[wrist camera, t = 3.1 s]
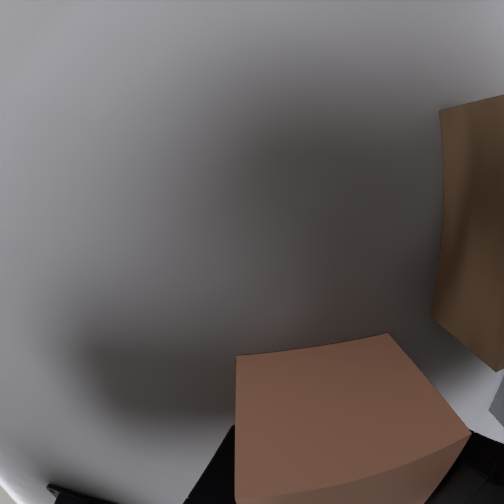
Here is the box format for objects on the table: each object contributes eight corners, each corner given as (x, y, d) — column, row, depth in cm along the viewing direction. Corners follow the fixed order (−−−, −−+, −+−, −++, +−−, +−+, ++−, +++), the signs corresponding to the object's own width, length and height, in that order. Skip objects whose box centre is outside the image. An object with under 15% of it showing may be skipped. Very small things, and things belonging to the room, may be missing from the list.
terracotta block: (369, 429, 10) (410, 518, 5) (252, 450, 10) (257, 553, 5) (387, 333, 9) (471, 433, 4) (236, 355, 9) (235, 497, 4)
